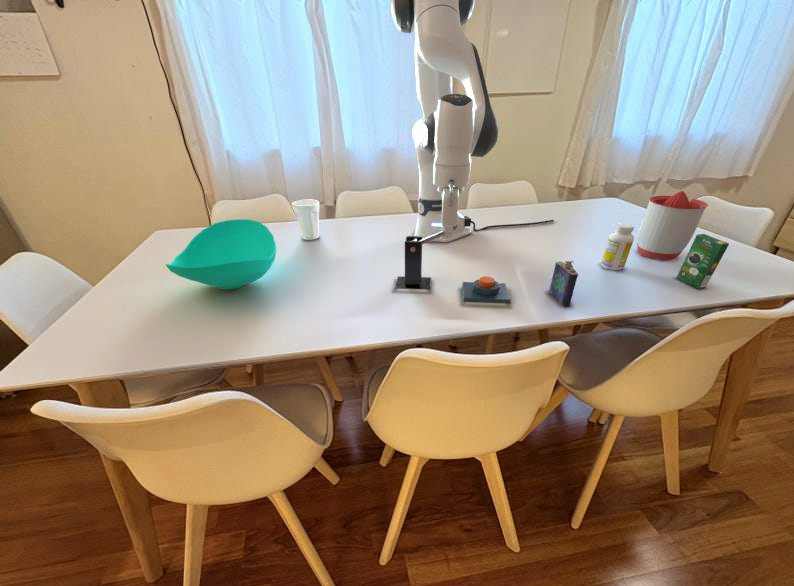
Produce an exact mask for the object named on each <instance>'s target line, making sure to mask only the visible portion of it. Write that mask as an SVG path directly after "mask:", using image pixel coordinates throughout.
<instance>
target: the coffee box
mask: <svg viewBox="0 0 794 586" xmlns="http://www.w3.org/2000/svg"><path fill="white" fill-rule="evenodd" d="M729 245H730V243H729V242H726V241H723V240H721V239H718V238H716V237H713V236H711V235H708V234H706V233H699V234H698V233H697V234H696V235H695V237H694V239H693V242H692V244H691V246H690V248H689V250H688V251H687V254H686V256H685V259H684V261H683V263H682V265H681V266H680V269H679V271H678V274H677V275H676V279H677V280H679V281H681V282H683V283H685V284H687V285H689V286H691V287H692V288H696V289H697V290H701V289H706V287H707V286H708V284H709V282H710V280H711V278H712V276H713V274H714V273H715V271H716V269H717V267H718V266H719V264H720V262H721V260H722V259H723V256H724V255H725V253H726V252H727V249H728V247H729Z"/></svg>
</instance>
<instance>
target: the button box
mask: <svg viewBox="0 0 794 586" xmlns="http://www.w3.org/2000/svg"><path fill="white" fill-rule="evenodd" d="M461 286H462V287H461V288H462V301H463V303H483V304H484V303H485V304H486V303H487V304H511V300H512V299H511V296H510V293H509V289H508V286H507V283H506V282H498V281H496V280H495V282H494V287H492V288H483V287H480V286H479V279H476V280H474V281H462V284H461Z"/></svg>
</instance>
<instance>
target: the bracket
mask: <svg viewBox="0 0 794 586" xmlns="http://www.w3.org/2000/svg"><path fill="white" fill-rule="evenodd" d="M416 238H417V240H418V241H412V240H414V239H416ZM420 240H422V236H414V235H406V236H405V240H404V276H398V275H397V276H396V281H395V285H394V289H396V290H397V289H398V290H399V289H400V290H426V291H427V290H431V283H432V277H430V276H429V277H428V276H422V272H423V269H422V268H423V244H422V245H421V243H422V241H420Z"/></svg>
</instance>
